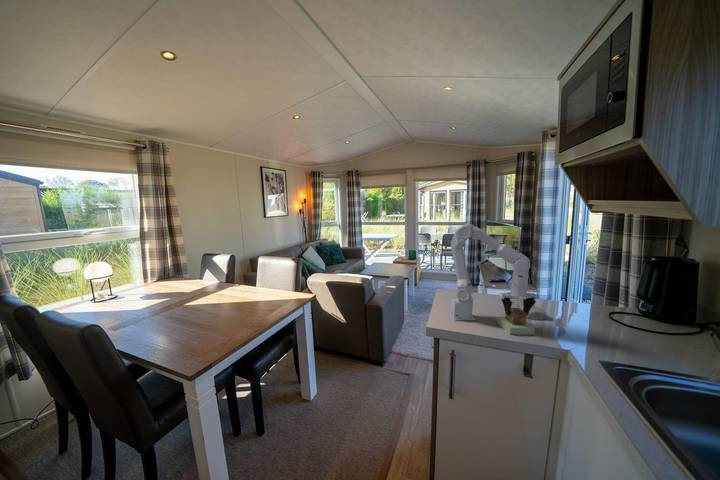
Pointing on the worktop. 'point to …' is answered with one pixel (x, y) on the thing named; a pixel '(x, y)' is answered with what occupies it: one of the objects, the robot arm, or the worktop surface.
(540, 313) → the stone block
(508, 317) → the walnut block
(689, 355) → the worktop surface
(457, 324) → the worktop surface
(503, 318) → the base block
